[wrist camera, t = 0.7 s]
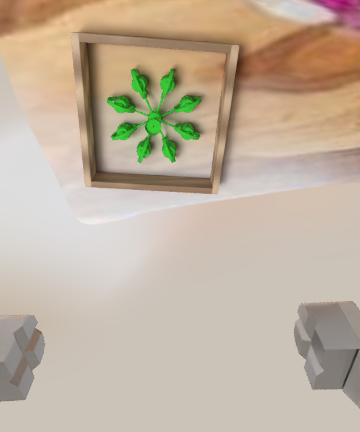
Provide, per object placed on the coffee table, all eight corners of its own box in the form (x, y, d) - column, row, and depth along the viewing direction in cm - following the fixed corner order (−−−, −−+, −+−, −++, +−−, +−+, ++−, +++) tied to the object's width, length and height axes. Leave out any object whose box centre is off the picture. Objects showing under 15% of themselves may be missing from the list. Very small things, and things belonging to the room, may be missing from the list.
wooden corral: (78, 32, 44) (70, 32, 40) (234, 44, 45) (239, 45, 41) (90, 176, 55) (85, 186, 52) (215, 184, 56) (217, 194, 53)
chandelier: (97, 140, 52) (87, 155, 46) (124, 45, 45) (116, 48, 39) (181, 172, 55) (181, 189, 49) (218, 87, 48) (224, 96, 42)
